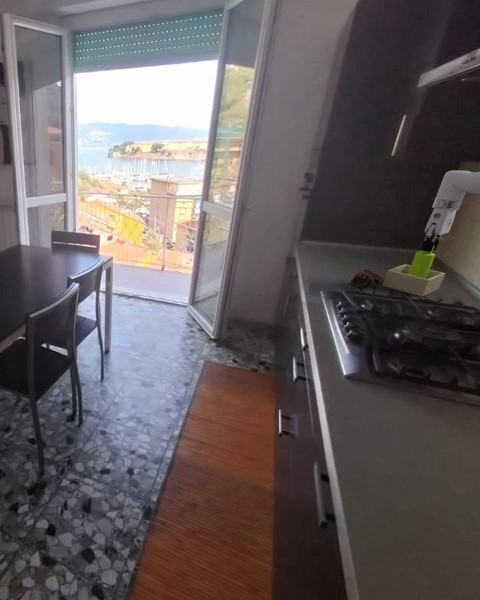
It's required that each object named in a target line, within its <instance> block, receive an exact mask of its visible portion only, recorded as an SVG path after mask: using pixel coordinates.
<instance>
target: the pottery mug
mask: <svg viewBox="0 0 480 600" xmlns="http://www.w3.org/2000/svg"><path fill="white" fill-rule="evenodd" d="M382 279H383V277H381V276H380V275H379V274H377V273H376V272H374V271H372V270H370V269H367V268H364V269H363V270H360V271H358V272H356V273H355V275H354V276H353V278H352V279H350V282H349V284H350V285H352V286H353V287H355V288H357V289H359V288H360V286H361V287H363V288H364V289H365V288H366V289H367V288H369V287H370V286H371V285H372V284H373V283H375V284H376V285H375V288H376V289H377V288H379V286H380V285H381V280H382Z"/></svg>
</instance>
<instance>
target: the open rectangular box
mask: <svg viewBox="0 0 480 600" xmlns="http://www.w3.org/2000/svg"><path fill="white" fill-rule="evenodd" d="M411 265H412V264H411ZM411 265H410V264H405V263H404V264H402V265H399V266H396V267H393V268H390V269H388V270H387V272H386V274H385V277H384V280H383V283H382V286H383V287H386V288H388V289H389V288H390V289H394V290H397V291H400V292H404V293H408V294H412V295H415V296H419V297H424V296H427V295H428V294H430V293H434V292H435V291H438V290H439V289H440V287H441V285H442V283H443V280H444V279H445V276H446V272H443V271H442V272H441V271H436V270H433V269H430V270H429V272H428V274H427V277H426V279H424V278H420V277H416V276H412V275H408V273H409V270H410V267H411Z"/></svg>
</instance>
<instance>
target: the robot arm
mask: <svg viewBox="0 0 480 600" xmlns="http://www.w3.org/2000/svg"><path fill="white" fill-rule="evenodd" d="M467 193H470V194H474V195H476V194H477V195H480V171H477V172H475V171H474V172H472V171H469V170H449V171H446V172H445V174H444V176H443V179H442V181H441V183H440V186H439V188H438V191H437V194H436V196H435V198H434V202H433V203H432V207H431V208H433V210H432V212H431V214H430V216H429V218H428V221H427V224H426V226H425V229H424V233H425V237H424V241H423V243H422V245H421V247H420V251H421V250H422V251H427V252H431V251H432V249H433V246H434V249H433V251H436V250H437V248H438V246H439V243H440V240H439V239H436V237H440V238H442V236H443V235H446V234H448V233H449V232H450V231H451V228H452V225H453V222H454V220H455V217H456V213H457V211H459V209H460V207H461V205H462V202H463V200H464V198H465V195H466V194H467ZM433 251H432V252H433Z"/></svg>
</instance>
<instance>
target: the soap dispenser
mask: <svg viewBox="0 0 480 600" xmlns="http://www.w3.org/2000/svg"><path fill="white" fill-rule="evenodd" d="M436 239H439V241H446V239H445V238H443V237H441V238H440V237H436ZM433 249H434V246H433ZM433 249H432V251H431V252H427V251H422V250H421V249H420V251H416V252H415V254H414V257H413V259H412V262H411V267H410V270H409V273H408V275H412V276H416V277H420V278H424V279H426V277H427V274H428V272H429V270H431V267H432V264H433V262H434V260H435V257H436V254H435V253H433V252H434V250H433Z"/></svg>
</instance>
